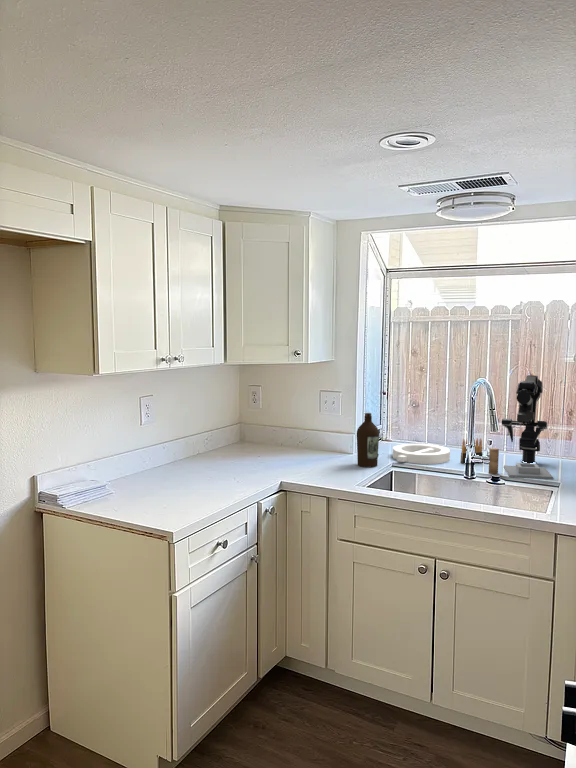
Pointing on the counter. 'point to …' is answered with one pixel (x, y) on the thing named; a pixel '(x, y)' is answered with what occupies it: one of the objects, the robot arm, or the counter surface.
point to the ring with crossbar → (421, 453)
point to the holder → (528, 471)
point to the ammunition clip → (477, 449)
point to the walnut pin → (493, 460)
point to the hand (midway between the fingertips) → (523, 442)
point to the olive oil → (367, 443)
